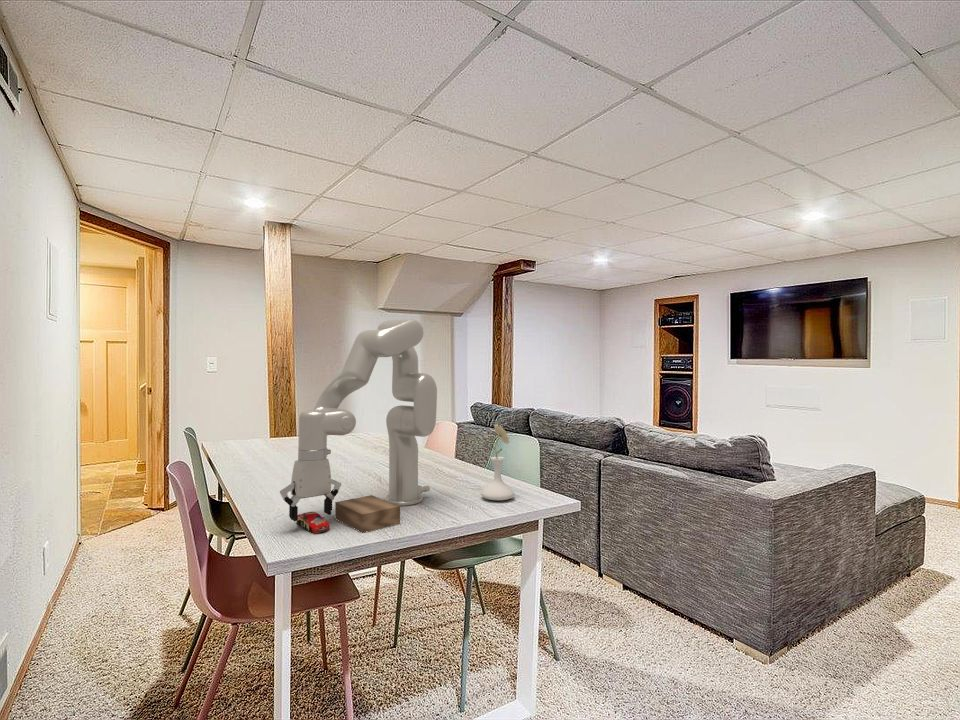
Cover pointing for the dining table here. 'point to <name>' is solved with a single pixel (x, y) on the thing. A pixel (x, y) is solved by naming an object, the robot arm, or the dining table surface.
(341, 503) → the walnut riser block
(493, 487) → the flower in vase
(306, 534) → the dining table surface
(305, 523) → the race car
